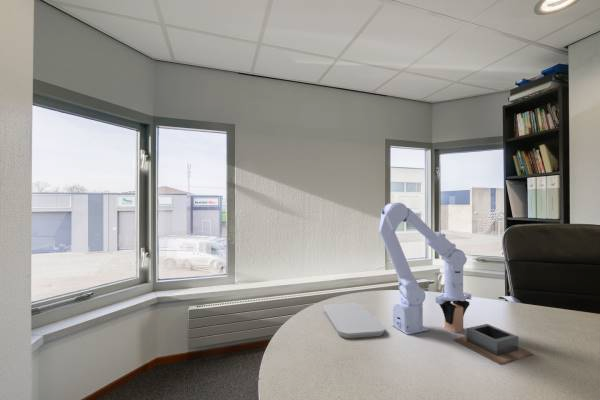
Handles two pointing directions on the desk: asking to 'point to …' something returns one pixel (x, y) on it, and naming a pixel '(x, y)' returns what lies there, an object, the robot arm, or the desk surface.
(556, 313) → the desk surface
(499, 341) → the socket board
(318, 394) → the desk surface
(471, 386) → the desk surface
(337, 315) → the tablet
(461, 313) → the peg
